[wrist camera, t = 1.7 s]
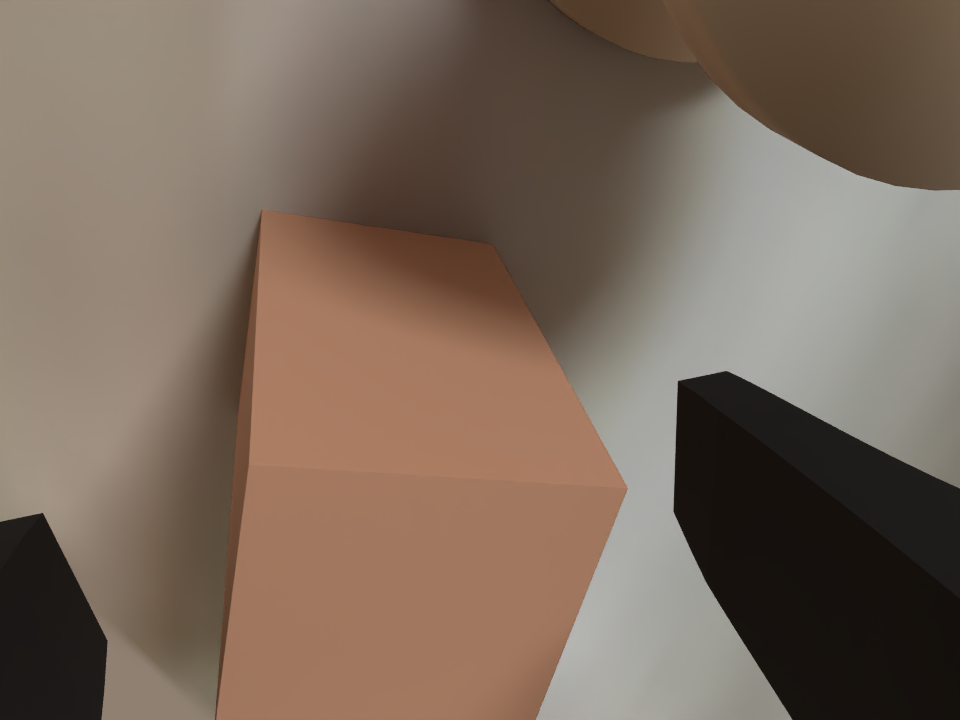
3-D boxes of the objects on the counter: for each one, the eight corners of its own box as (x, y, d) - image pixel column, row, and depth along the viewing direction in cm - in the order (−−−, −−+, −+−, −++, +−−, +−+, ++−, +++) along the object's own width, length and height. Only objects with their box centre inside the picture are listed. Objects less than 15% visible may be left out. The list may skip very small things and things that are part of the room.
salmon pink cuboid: (492, 243, 13) (627, 489, 8) (445, 428, 15) (532, 727, 10) (261, 209, 12) (250, 464, 7) (238, 411, 14) (213, 736, 8)
